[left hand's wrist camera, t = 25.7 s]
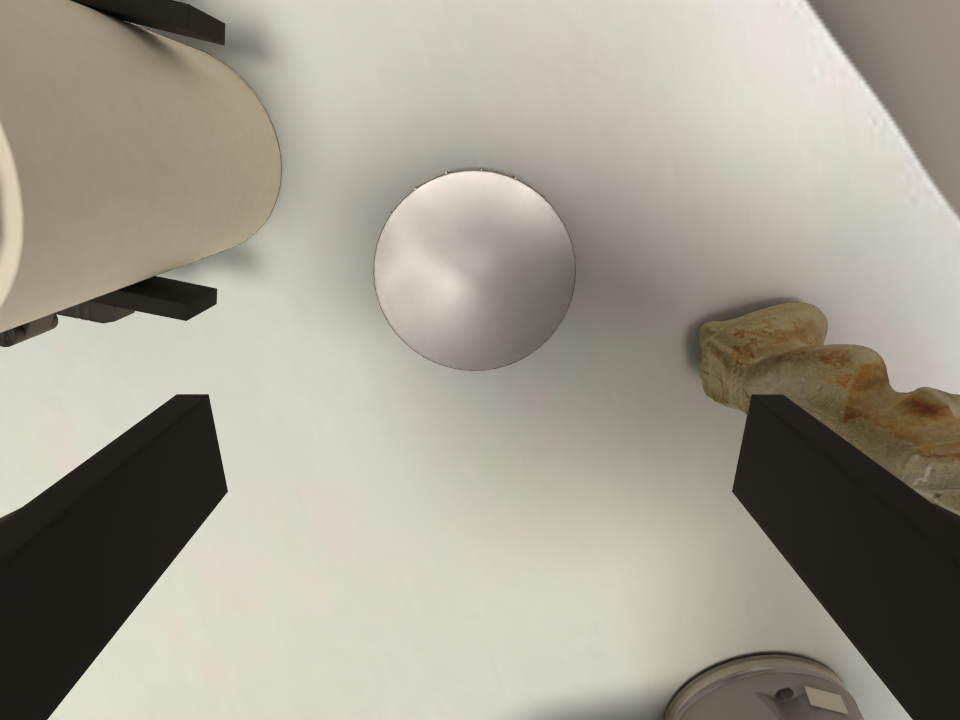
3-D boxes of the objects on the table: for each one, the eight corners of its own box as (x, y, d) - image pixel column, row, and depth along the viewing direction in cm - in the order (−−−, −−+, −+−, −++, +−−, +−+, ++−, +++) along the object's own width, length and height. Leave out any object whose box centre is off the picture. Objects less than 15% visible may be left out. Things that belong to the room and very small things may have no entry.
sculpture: (800, 377, 31) (1062, 555, 17) (681, 392, 32) (845, 577, 18) (810, 284, 29) (1118, 401, 15) (683, 301, 29) (870, 430, 15)
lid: (422, 382, 31) (418, 396, 30) (346, 211, 28) (336, 214, 26) (591, 325, 30) (599, 336, 28) (536, 136, 26) (540, 135, 25)
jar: (232, 15, 24) (-334, -314, 7) (310, 226, 28) (52, 334, 11) (42, 75, 25) (-862, -97, 8) (141, 272, 29) (-341, 437, 12)
